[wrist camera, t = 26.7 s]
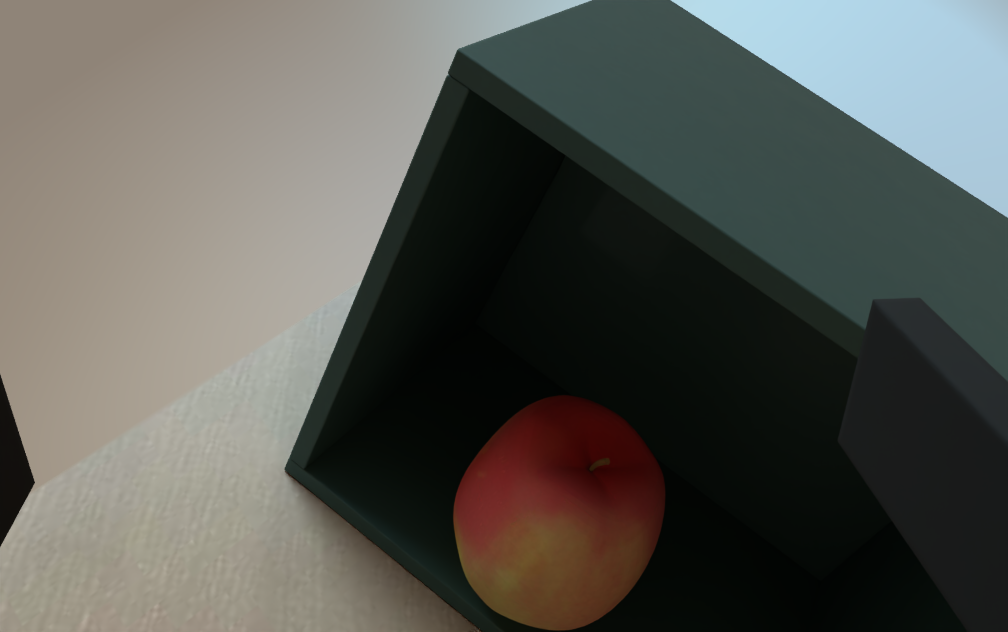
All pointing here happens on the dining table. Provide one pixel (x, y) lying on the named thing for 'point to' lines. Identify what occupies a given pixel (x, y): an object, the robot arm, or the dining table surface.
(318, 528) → the dining table surface
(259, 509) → the dining table surface
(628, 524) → the apple
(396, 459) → the cupboard
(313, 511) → the dining table surface
